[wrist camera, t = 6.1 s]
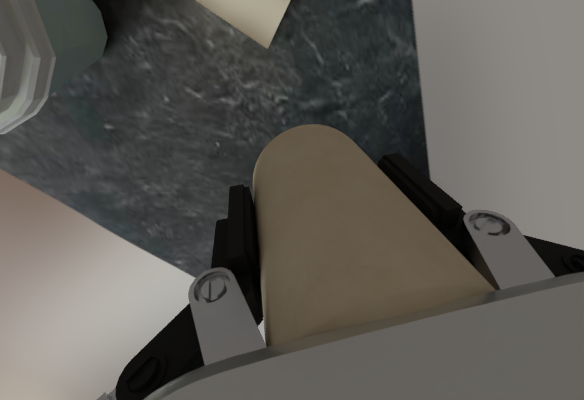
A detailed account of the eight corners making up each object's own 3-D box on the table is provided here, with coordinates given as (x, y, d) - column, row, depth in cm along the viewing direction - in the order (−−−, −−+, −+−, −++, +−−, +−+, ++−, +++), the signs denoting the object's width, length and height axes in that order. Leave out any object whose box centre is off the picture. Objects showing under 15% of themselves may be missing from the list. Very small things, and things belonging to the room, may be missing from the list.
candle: (301, 234, 15) (374, 484, 7) (227, 179, 12) (205, 498, 4) (379, 174, 13) (592, 405, 5) (315, 94, 10) (570, 337, 2)
